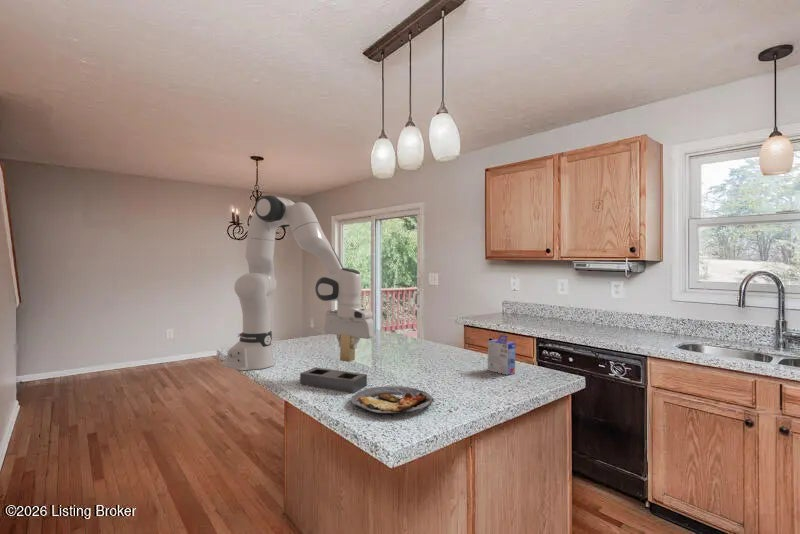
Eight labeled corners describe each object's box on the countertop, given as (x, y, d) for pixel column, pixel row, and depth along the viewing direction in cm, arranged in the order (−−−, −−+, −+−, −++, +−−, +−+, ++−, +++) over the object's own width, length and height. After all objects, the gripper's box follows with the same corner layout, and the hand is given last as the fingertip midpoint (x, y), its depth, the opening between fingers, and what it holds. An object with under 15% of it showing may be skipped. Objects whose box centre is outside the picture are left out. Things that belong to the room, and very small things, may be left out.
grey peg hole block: (300, 384, 144) (300, 373, 144) (315, 377, 152) (315, 367, 152) (353, 393, 135) (353, 381, 135) (366, 385, 143) (366, 374, 143)
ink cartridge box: (516, 373, 160) (516, 336, 160) (508, 375, 156) (508, 338, 156) (495, 368, 167) (495, 333, 167) (487, 370, 164) (487, 334, 163)
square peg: (340, 360, 152) (340, 334, 152) (345, 358, 156) (346, 332, 156) (349, 361, 151) (349, 335, 151) (354, 359, 154) (355, 333, 154)
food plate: (448, 404, 124) (448, 393, 124) (393, 427, 108) (393, 413, 108) (392, 388, 142) (392, 378, 142) (337, 405, 126) (337, 394, 126)
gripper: (321, 309, 154) (320, 345, 155) (368, 314, 146) (366, 352, 146) (330, 308, 160) (329, 343, 160) (376, 312, 152) (375, 349, 152)
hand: (347, 347), depth 153 cm, fingers closed on square peg, 4 cm apart
